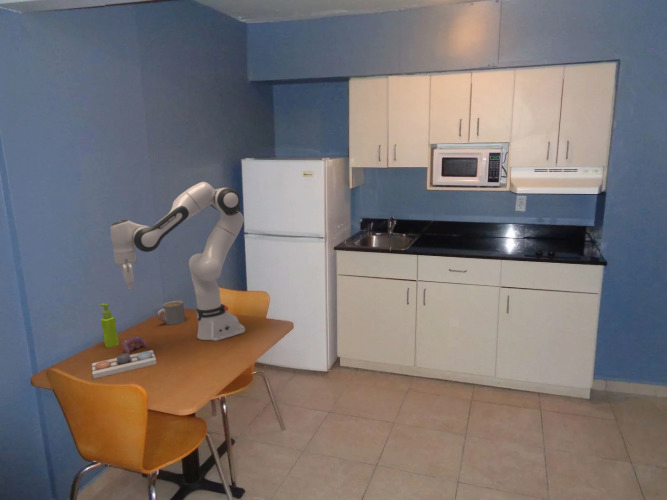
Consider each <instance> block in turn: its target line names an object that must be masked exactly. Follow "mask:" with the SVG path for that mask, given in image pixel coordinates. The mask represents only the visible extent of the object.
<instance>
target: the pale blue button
mask: <svg viewBox="0 0 667 500" xmlns="http://www.w3.org/2000/svg"><path fill="white" fill-rule="evenodd" d="M139 353H140V354H138V360H137V361H140V360H145V359H149V358H152V357H151V355H150V352H146V351H142V353H141V352H139Z"/></svg>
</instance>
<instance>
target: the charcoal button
mask: <svg viewBox="0 0 667 500" xmlns="http://www.w3.org/2000/svg"><path fill="white" fill-rule="evenodd" d="M130 355H131V353H130V354H128V353H126V352H125V353H121V354H118V355H117V356H116V358H117V362H118V365H123V364H127V363H132V362H131V360H130ZM118 365H117V366H118Z"/></svg>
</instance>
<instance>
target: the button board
mask: <svg viewBox="0 0 667 500" xmlns="http://www.w3.org/2000/svg"><path fill="white" fill-rule="evenodd" d="M142 352H143V351H142ZM142 352H137V353H131V354H130V360H131V362H130V363H127V364H123V365H118V362H117V357H116V358H110V359H107V360H104V361H109V363H110V368H105V369H101V370H97V369H96V364H97V363H98V362H99V361H97V362H93V363H91V367H92V368H91V369H92V379H93V380H95V379H98V378H103V377H107V376H111V375H116V374H119V373H124V372H130V371H133V370H137V369H142V368H146V367H150V366H155V365H157V364H158V362H157V358H156V356H155V353H154V350H153V349H151V350H146V351H145V352H150V355H151V358H149V359H145V360H140V361H138V354H140V353H142Z"/></svg>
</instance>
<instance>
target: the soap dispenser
mask: <svg viewBox="0 0 667 500" xmlns="http://www.w3.org/2000/svg"><path fill="white" fill-rule="evenodd" d="M96 306H97V307H103V310H102V316H103V317H102V318H101V319H100V323H101V330H102V337H103V340H104V347H106V348H113V347H117V346H118V345H119V336H118V329H117V323H116V318H115V316H112V311H111V310H110V309H109V306H110V303H99V304H98V305H96Z"/></svg>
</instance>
